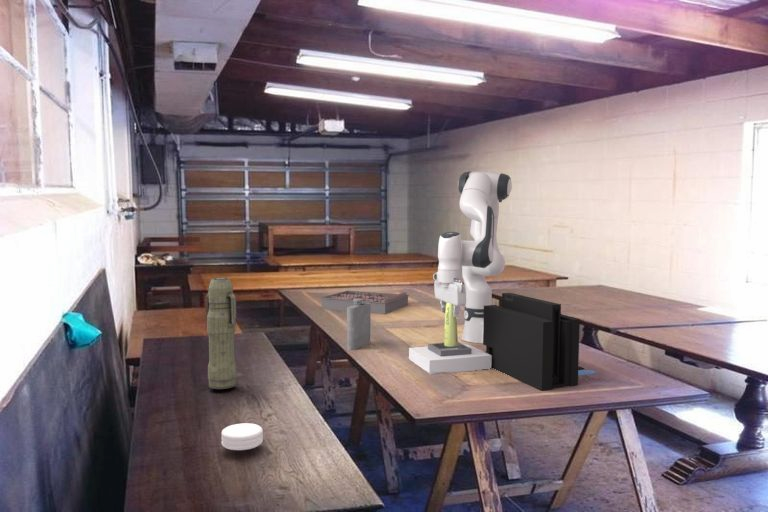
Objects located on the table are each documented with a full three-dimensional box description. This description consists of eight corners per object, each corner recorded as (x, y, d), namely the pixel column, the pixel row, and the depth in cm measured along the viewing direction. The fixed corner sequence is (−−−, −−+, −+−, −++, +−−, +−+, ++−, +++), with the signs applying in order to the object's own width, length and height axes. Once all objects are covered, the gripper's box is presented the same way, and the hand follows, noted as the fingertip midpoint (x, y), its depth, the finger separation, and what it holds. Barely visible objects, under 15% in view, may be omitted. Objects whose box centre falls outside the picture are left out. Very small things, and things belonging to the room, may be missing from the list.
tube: (440, 345, 230) (439, 292, 229) (447, 343, 234) (447, 291, 232) (452, 348, 226) (452, 293, 225) (460, 345, 230) (460, 292, 229)
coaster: (213, 447, 154) (212, 433, 153) (237, 433, 163) (237, 420, 162) (247, 453, 150) (247, 439, 149) (270, 439, 159) (270, 425, 159)
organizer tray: (347, 303, 372) (347, 287, 371) (409, 309, 355) (409, 291, 355) (319, 312, 343) (319, 294, 342) (385, 318, 326) (385, 299, 326)
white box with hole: (466, 356, 245) (467, 338, 244) (491, 369, 226) (491, 349, 225) (408, 360, 237) (409, 342, 237) (429, 374, 218) (429, 354, 218)
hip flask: (352, 351, 252) (352, 302, 250) (343, 350, 254) (343, 301, 252) (371, 343, 266) (371, 297, 264) (363, 342, 268) (363, 296, 266)
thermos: (216, 379, 211) (214, 275, 209) (245, 383, 207) (243, 277, 204) (198, 386, 203) (196, 278, 200) (228, 391, 199) (226, 280, 196)
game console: (482, 364, 233) (484, 292, 231) (549, 357, 245) (551, 288, 242) (541, 390, 201) (543, 307, 198) (615, 380, 212) (618, 301, 210)
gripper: (470, 280, 220) (470, 319, 221) (446, 273, 239) (446, 309, 241) (454, 280, 218) (454, 320, 219) (431, 274, 237) (431, 310, 239)
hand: (449, 314), depth 230 cm, fingers open, 8 cm apart
